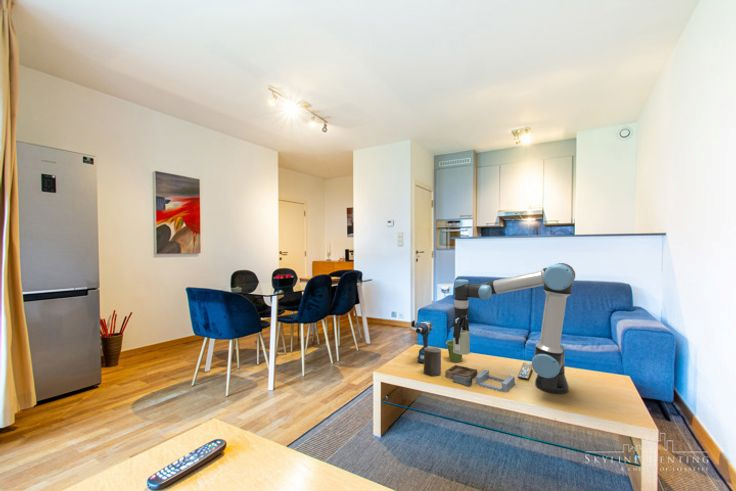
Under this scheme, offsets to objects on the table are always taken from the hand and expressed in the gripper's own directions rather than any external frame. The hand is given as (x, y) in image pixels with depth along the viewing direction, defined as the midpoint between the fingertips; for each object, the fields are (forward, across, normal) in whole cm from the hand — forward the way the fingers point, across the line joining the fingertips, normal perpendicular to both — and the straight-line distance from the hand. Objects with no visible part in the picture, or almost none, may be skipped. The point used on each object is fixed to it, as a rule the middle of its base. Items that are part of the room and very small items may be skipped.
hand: (461, 347), depth 189 cm
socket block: (+16, -2, +18) cm, 24 cm away
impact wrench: (+16, -8, -28) cm, 33 cm away
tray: (+16, 0, 0) cm, 16 cm away
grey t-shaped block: (+16, +8, +4) cm, 19 cm away
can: (+3, 0, 0) cm, 3 cm away
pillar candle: (+16, +6, -15) cm, 23 cm away
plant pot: (+16, -22, -14) cm, 31 cm away
